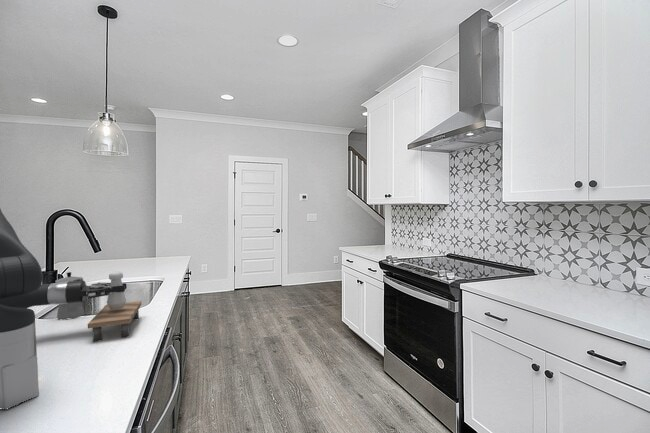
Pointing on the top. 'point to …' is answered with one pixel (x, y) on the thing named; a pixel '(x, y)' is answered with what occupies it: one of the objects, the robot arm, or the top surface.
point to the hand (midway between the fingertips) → (125, 287)
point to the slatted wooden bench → (115, 319)
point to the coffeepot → (72, 308)
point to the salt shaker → (116, 298)
